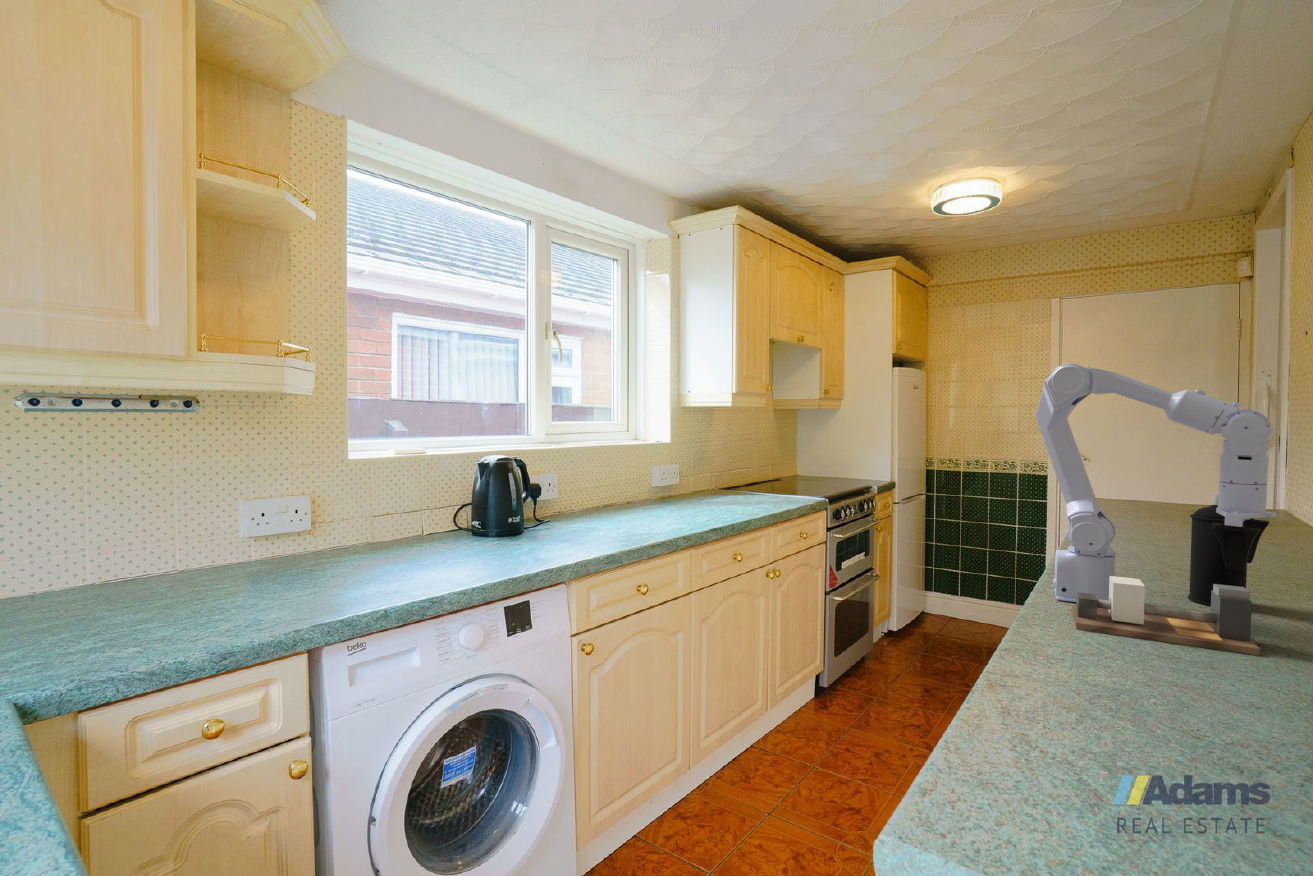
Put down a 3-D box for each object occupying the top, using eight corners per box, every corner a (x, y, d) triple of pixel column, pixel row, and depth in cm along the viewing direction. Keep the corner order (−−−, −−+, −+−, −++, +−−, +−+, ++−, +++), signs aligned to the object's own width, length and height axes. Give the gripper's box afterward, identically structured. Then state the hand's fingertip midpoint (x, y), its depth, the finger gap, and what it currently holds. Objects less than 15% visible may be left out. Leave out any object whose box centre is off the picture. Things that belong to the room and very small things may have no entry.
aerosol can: (1194, 605, 112) (1198, 495, 112) (1181, 594, 120) (1185, 491, 119) (1255, 612, 108) (1259, 498, 108) (1238, 600, 116) (1241, 493, 115)
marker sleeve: (1112, 620, 100) (1113, 582, 99) (1108, 611, 104) (1109, 575, 104) (1143, 624, 98) (1144, 586, 97) (1138, 615, 102) (1139, 579, 102)
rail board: (1076, 628, 100) (1076, 603, 99) (1071, 610, 109) (1071, 586, 109) (1259, 655, 89) (1260, 626, 88) (1236, 632, 98) (1237, 606, 98)
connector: (1218, 637, 93) (1220, 590, 93) (1210, 627, 97) (1211, 582, 97) (1250, 641, 91) (1252, 593, 91) (1239, 631, 96) (1241, 585, 95)
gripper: (1270, 488, 94) (1266, 577, 94) (1282, 482, 103) (1279, 563, 103) (1209, 484, 99) (1205, 568, 100) (1225, 478, 108) (1222, 555, 109)
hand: (1238, 565), depth 102 cm, fingers open, 7 cm apart
